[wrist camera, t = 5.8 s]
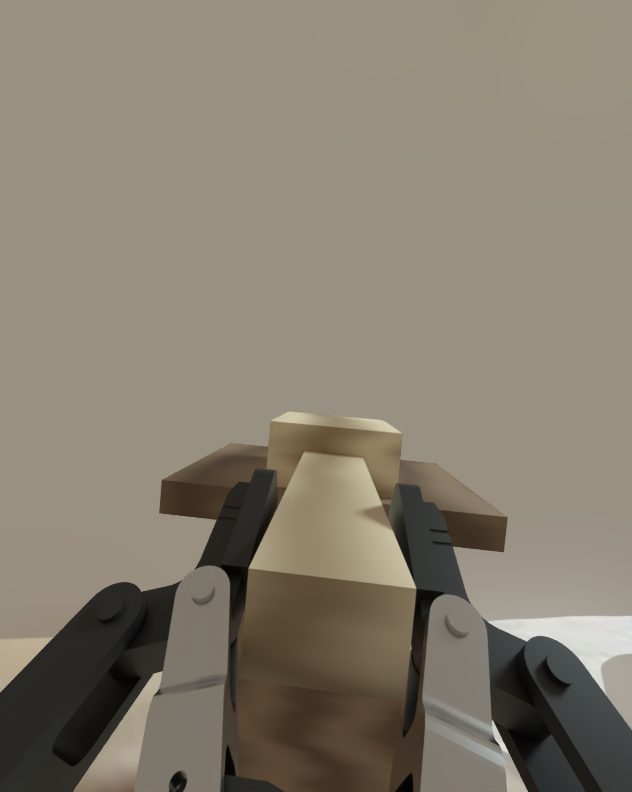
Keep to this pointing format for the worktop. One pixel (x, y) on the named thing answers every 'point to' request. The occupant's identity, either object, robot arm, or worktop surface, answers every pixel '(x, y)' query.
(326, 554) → the beige stepped hammer block
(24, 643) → the worktop surface
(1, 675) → the worktop surface
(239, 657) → the wooden t-shaped post
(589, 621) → the worktop surface
